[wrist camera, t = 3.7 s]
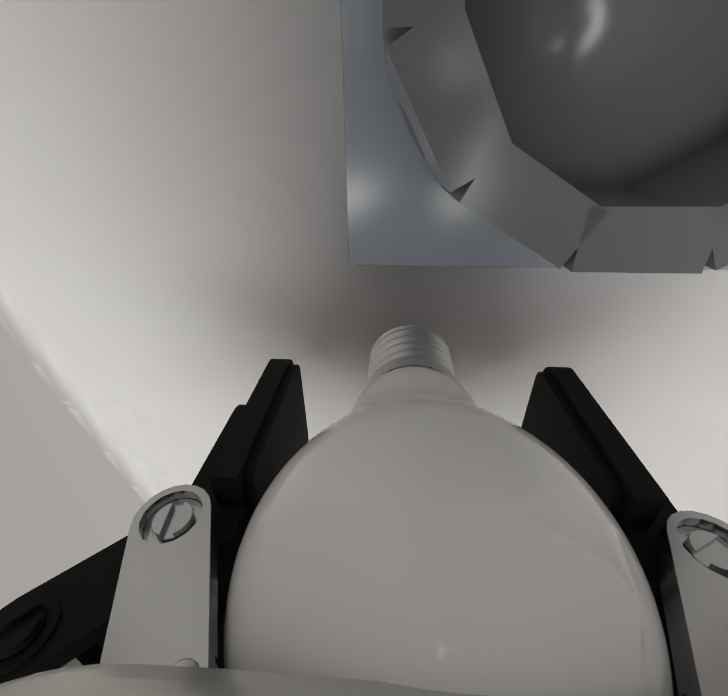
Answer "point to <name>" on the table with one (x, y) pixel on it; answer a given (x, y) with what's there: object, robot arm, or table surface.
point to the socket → (537, 133)
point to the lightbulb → (440, 553)
